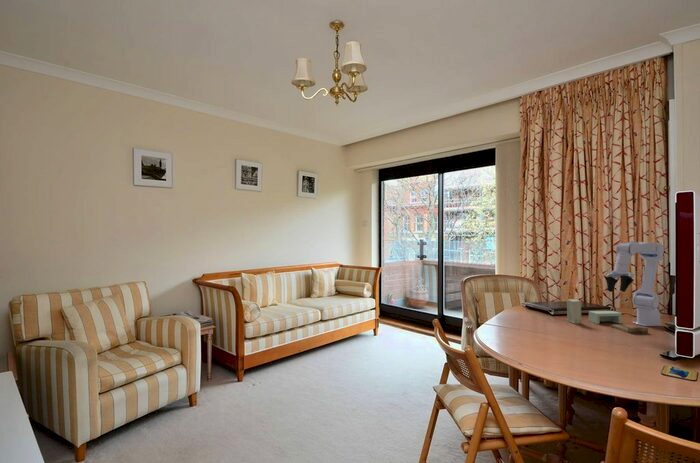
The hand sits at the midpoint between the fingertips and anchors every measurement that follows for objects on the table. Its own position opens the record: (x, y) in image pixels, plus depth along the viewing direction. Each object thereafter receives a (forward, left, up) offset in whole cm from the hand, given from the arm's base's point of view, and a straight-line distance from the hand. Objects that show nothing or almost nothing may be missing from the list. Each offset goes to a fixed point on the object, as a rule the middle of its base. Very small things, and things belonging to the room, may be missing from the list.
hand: (616, 291), depth 177 cm
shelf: (-9, -18, -20) cm, 28 cm away
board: (-9, -2, -20) cm, 22 cm away
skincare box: (+8, -19, -20) cm, 29 cm away
